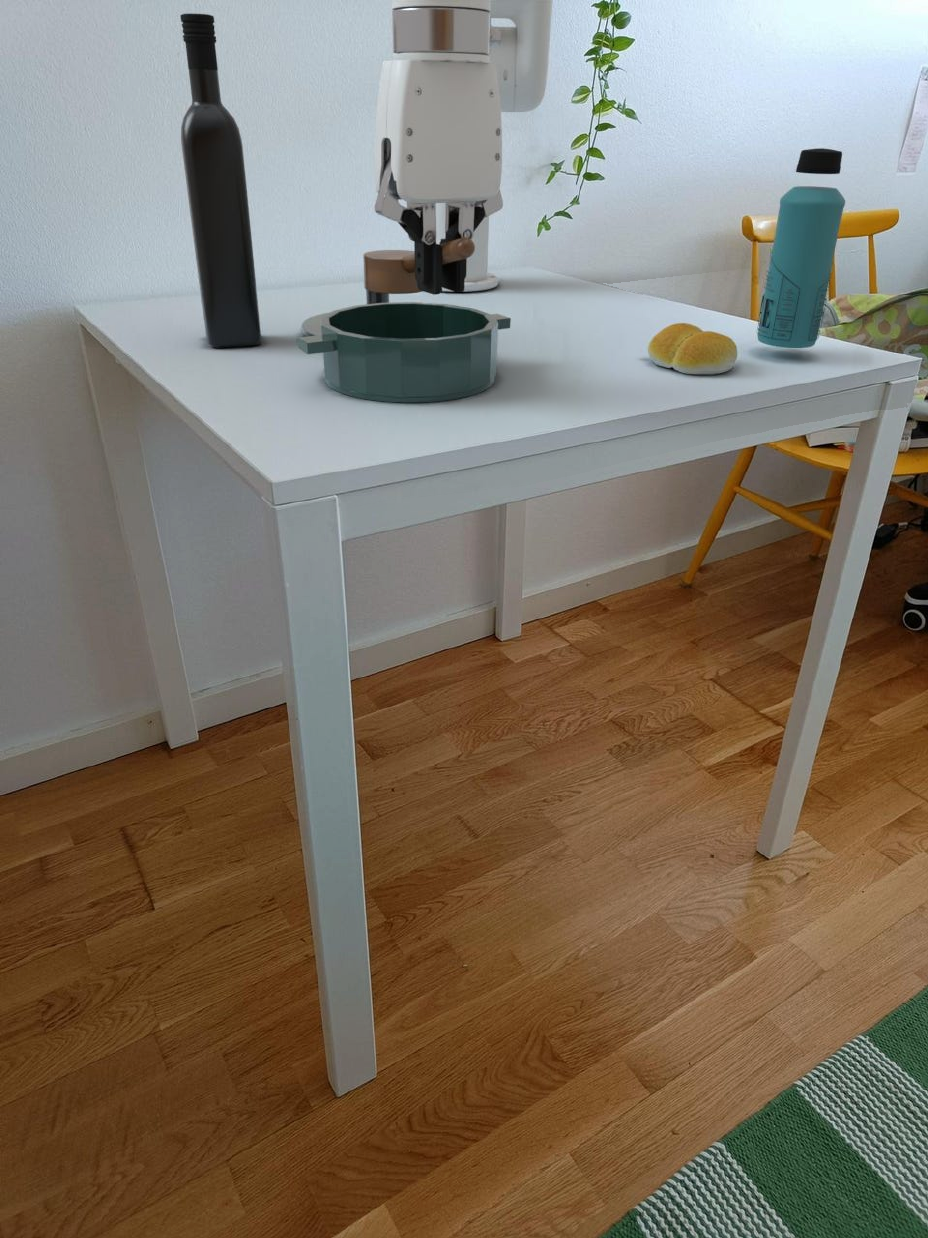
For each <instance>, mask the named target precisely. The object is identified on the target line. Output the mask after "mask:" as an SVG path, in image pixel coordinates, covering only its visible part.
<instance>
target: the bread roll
mask: <svg viewBox="0 0 928 1238" xmlns="http://www.w3.org/2000/svg"><path fill="white" fill-rule="evenodd" d="M647 344H648V345H647V353H648V356H649V358H650V360H651V361H652V362H653V363H654V364H655V365H657V366H660V367H662V368H666V369H667V368H668V369H671V368H673V369H674V370H675V371H676V372H677V371H678V372H680V373H681V374H687V375H719V374H722V373H726V372H729V371H730V370H731V369H733V367H734V366H735V365H736V360H737V358H738V348H737V345H736V343H735V341H734V340H733V339H732V338H731V337H730V336H727V335H725V334H722V333H719V332H716V331H711V330H706V331H705V330H702V329H701V328H700V327H698V326H697V325H694V324H691V323H687V322H678V323H677V322H676V323H672V324H670V325H668V326H666V327H664V328H662V329H661V331H659V332H657V334H655V335H654V336H653V337H652V338H651V339H650V341H649V342H648V343H647Z"/></svg>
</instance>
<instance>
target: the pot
mask: <svg viewBox="0 0 928 1238" xmlns="http://www.w3.org/2000/svg"><path fill="white" fill-rule="evenodd" d="M327 313H328V314H327V315H325V316H323V317H322V318H320V321H321V335H316V336H301V337H297V338H296V342H297V350H299V351H301V352H303V353H305V354H307V355H314V354H321V353H322V364H323V365H322V366H323V374H324V375H323V376H324V382H325V384H326V385H327V386H328V387H329V388H330V389H332V390H334V391H336V392H338V393H340V394H343V395H346V396H348V397H349V396H350V397H353V398H356V399H363V400H369V401H376V402H384V403H401V404H402V403H403V404H404V403H406V404H408V403H411V404H412V403H413V404H415V403H435V402H445V401H450V400H451V401H453V400H457V399H462V398H466V397H467V398H468V397H470V396H471V397H472V396H473V395H476V394H479V393H482V392H484V391H486V390H488V389H490V387H492V386H493V384H494V383H495V377H496V375H497V367H498V365H497V362H498V334H499V330H507V329H510V328H511V322H512V321H511V320H512V318H511V317H508V316H506V315H503V314H499V313H493V314H491V313H488V312H485V311H482V310H479V309H476V308H472V307H467V306H462V305H461V306H460V305H454V304H448V303H438V302H437V303H435V302H422V301H421V302H418V301H404V302H403V301H402V302H401V301H400V302H399V301H397V302H396V301H395V302H389V303H376V304H367V303H365V304H357V305H352V306H348V307H344V308H339V309H335V310H332V311H330V313H329V312H327Z"/></svg>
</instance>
